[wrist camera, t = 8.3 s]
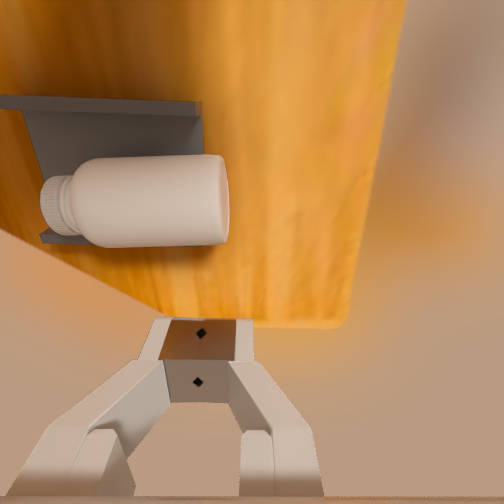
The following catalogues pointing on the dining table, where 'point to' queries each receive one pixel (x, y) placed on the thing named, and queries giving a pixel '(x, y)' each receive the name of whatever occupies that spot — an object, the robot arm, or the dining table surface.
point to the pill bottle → (141, 201)
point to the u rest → (104, 134)
